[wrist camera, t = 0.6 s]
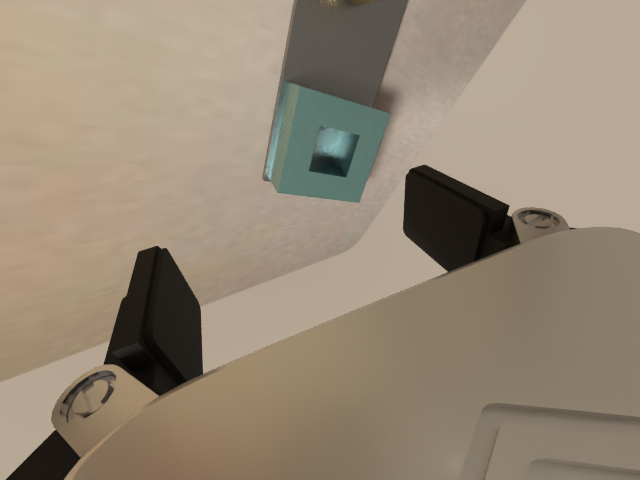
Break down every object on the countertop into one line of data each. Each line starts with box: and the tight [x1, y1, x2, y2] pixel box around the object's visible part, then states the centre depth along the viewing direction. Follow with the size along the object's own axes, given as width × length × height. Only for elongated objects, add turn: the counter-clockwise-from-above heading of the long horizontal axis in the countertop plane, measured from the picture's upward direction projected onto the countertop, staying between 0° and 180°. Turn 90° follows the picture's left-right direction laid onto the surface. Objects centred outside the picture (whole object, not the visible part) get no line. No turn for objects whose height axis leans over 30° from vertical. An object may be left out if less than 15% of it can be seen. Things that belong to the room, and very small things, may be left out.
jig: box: [262, 0, 407, 203], centre depth 31 cm, size 28×12×6 cm, turn 163°
